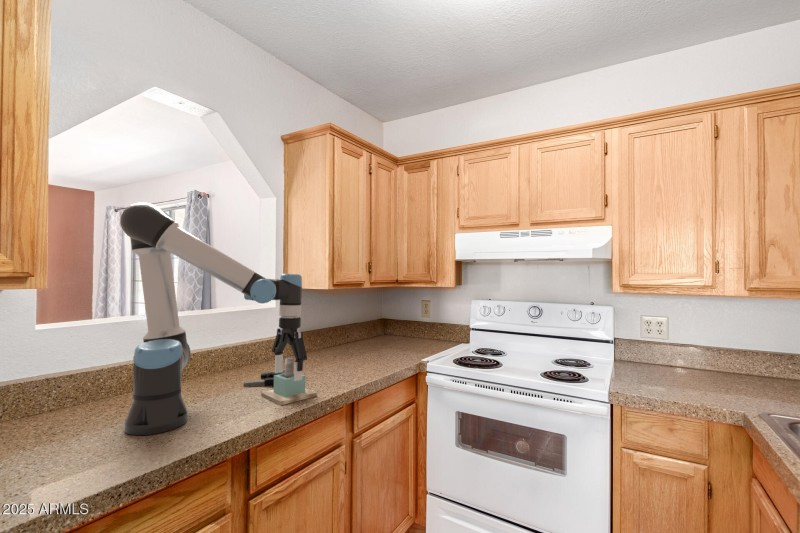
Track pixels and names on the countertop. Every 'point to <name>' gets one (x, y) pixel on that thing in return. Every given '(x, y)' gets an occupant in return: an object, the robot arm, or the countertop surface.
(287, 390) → the collar
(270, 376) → the black toy gun
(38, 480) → the countertop surface
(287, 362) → the peg stand
